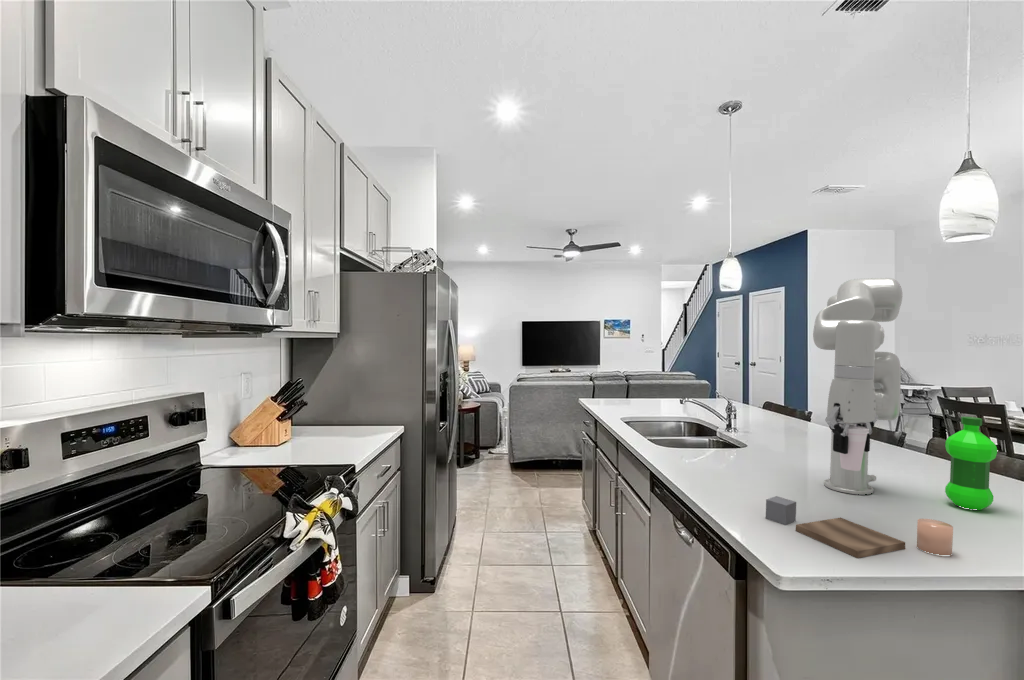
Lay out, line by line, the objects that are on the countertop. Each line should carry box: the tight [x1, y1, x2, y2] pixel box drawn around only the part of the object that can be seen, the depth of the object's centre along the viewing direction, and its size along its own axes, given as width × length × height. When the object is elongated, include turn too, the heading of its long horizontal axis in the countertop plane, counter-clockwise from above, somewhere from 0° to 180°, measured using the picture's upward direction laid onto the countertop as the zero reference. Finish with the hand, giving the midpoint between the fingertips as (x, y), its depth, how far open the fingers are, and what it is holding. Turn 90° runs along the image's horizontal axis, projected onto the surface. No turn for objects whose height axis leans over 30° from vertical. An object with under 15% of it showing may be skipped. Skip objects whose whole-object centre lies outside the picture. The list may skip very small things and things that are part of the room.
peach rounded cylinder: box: [916, 518, 954, 555], centre depth 109 cm, size 6×6×6 cm
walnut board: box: [795, 517, 906, 559], centre depth 115 cm, size 15×15×2 cm
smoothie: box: [839, 424, 869, 471], centre depth 114 cm, size 6×6×14 cm
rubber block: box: [765, 495, 797, 526], centre depth 126 cm, size 5×5×5 cm
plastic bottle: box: [944, 416, 998, 511], centre depth 137 cm, size 10×10×25 cm
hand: (851, 450), depth 114 cm, fingers closed on smoothie, 6 cm apart
